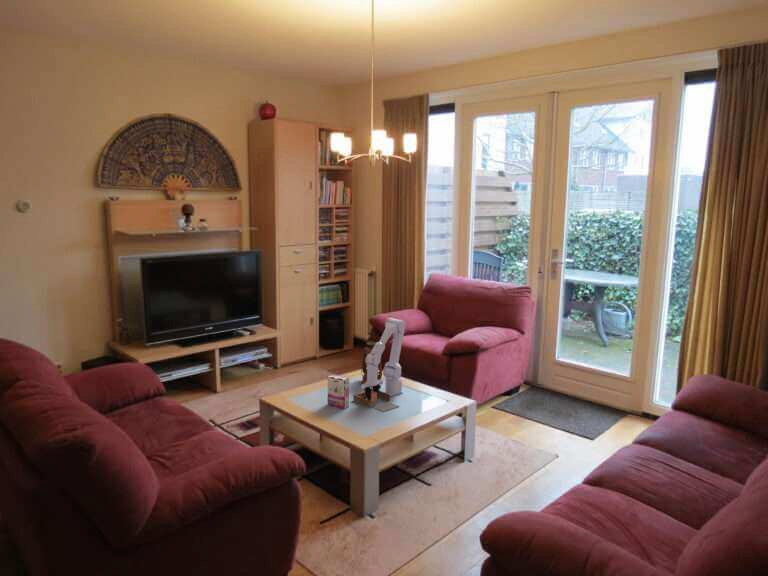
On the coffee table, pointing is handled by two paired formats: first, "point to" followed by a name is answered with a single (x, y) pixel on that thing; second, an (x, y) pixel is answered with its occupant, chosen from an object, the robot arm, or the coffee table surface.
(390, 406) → the grey mat
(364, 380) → the lantern
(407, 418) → the coffee table surface
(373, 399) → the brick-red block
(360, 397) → the walnut arch
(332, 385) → the candy bar box
